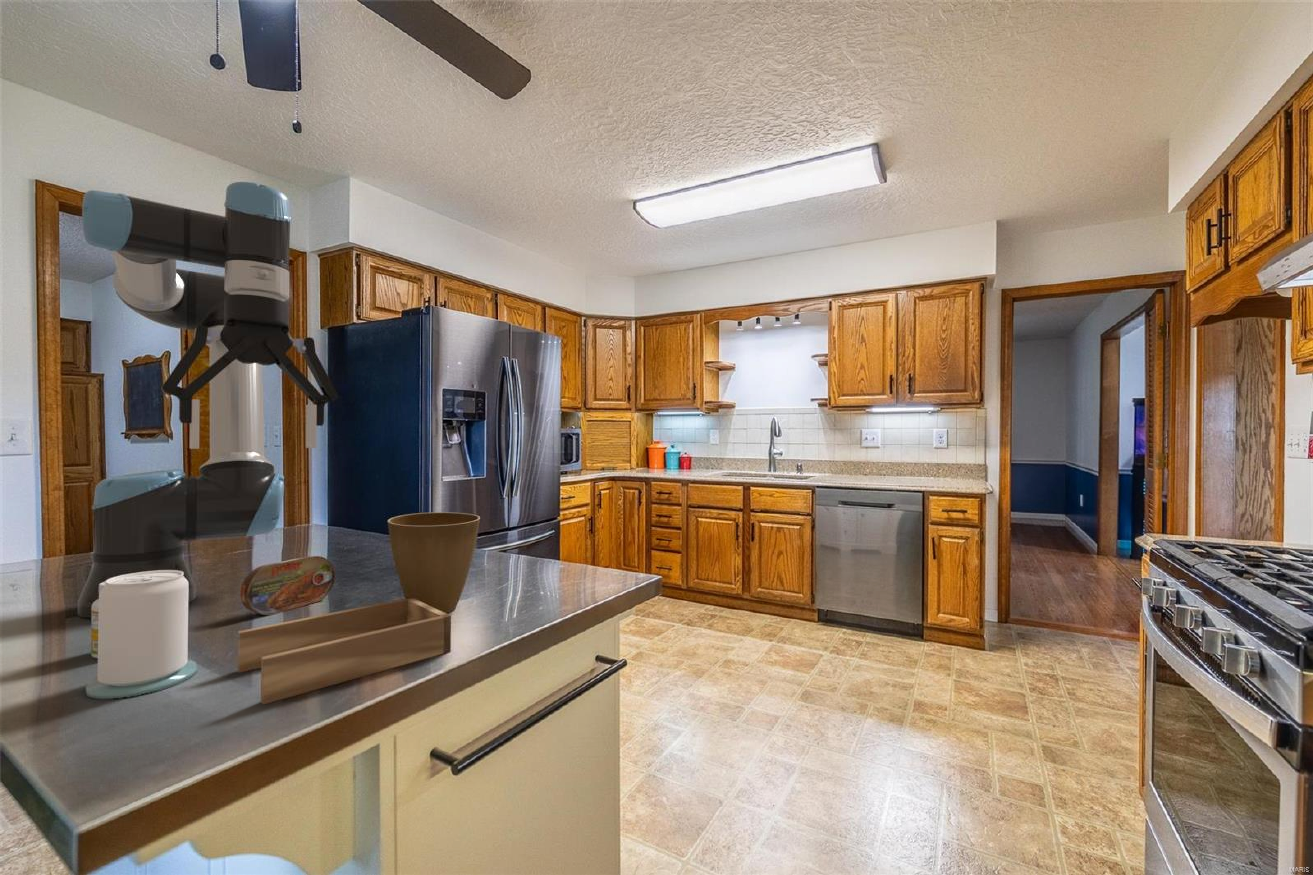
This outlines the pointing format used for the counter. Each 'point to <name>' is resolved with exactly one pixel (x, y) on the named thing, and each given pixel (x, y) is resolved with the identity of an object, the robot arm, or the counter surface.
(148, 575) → the beverage can
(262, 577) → the tin
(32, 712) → the counter surface
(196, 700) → the counter surface
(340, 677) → the brown wooden rectangular tray
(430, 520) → the plant pot
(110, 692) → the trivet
